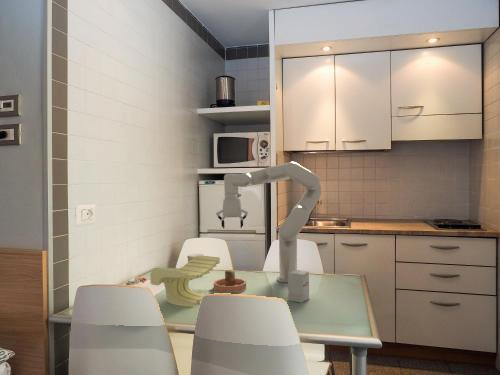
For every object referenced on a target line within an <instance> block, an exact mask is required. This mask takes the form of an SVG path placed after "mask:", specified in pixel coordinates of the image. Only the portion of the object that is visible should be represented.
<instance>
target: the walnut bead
mask: <svg viewBox="0 0 500 375" xmlns="http://www.w3.org/2000/svg"><path fill="white" fill-rule="evenodd" d="M235 278H236V271H235V270H232V269H228V270H224V279H225V286H235Z"/></svg>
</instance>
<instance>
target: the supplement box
mask: <svg viewBox="0 0 500 375" xmlns="http://www.w3.org/2000/svg"><path fill="white" fill-rule="evenodd" d="M287 286H288V288H287V289H288V292H287V293H288V301H290V302H298V303H304V302H305V301H307V300H308V299H309V300H310V272H309V270H308V271H307V270H299V269H297V270H294V271H292V272H290V273H288V284H287Z"/></svg>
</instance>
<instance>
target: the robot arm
mask: <svg viewBox="0 0 500 375" xmlns="http://www.w3.org/2000/svg"><path fill="white" fill-rule="evenodd" d="M290 179H291V180H292V181H293V182H295V183H297V184H298V185H300V186H301V187H304V188H305V189H304V192H303V195H302V196H301V198H300V199H299V201H298V202H297V203H296V204H295V206H294V207H293V208H292V209H291V211H290V213H289V214H288V216H286V218H285V220H284V221H283V222H281V224H280V225H279V227H278V231H277V232H278V242H279V243H278V250H279V252H278V257H279V259H278V260H279V261H278V263H279V264H278V265H279V266H278V267H279V275H278V276H277V277H276V280H277V281H278V282H280V283H285V284H286V283H288V273H290V272H292V271H294V270H298V239H297V238H298V235H299V234H300V232H301V231H302V229H303V228H304V227H305V225H306V224H307V222H308V221H309V218H310V214H311V213H312V211H313V210H314V208H315V206H316V205H317V204H318V201H319V200H320V198H321V195H322V186H321V182H320V178H319V176H318V175H317V174H315V173H314V172H312V171H310V170H309V169H307V168H305V167H304V166H302V165H300V164H299V163H297V162H295V161H290V162H285V163H282V164H278V165H272V166H268V167H265V168H262V169H260V170H256V171H251V172H244V173H243V172H242V173H226V174H224V176H223V181H224V182H223V184H224V199H223V201H222V209H221V210H218V212H216V213H215V215H216V216H217V218H218V219H219V220H220V222H221V228H222V229H225V219H226V218H239V219H240V228H241V229H242V228H243V227H244V220H245V219H246V218H247V216H248V214H249V211H246V210H244V209H242V203H241V199H240V197H242V194H241V193H239V187H240V188H248V187H251V186H256V185H260V184H271V183H275V182H279V181H280V182H281V181H286V180H290ZM220 214H222V216H221V215H220ZM242 214H244V215H243V216H242Z"/></svg>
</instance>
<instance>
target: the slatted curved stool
mask: <svg viewBox="0 0 500 375" xmlns="http://www.w3.org/2000/svg"><path fill="white" fill-rule="evenodd" d="M220 261H221V259H220V257H219V256H210V255H209V256H208V255H203V256H201V255H197V256H195V257H193V258H192V259H191V260H190V261H188V260H187V263H184V265H183V266H182V267H180V268H178V269H167V268H159V267H153V268H152V269H151V271H150V275H149V276H150V277H149V278H150V285H152V286H159V285H162V284H163V285H164V288H165V289H164V290H165V295H166V299H167V300H166V301H167V302H168V303H169V304H171V305H178V306H182V307H187V308H194V307H196V306H198V305H201V304H200V301H201V298H202V297H203V296H204V295H205V294H201V293H198V292H195V291H193V290H191V289H190V287H189V282H190V281H191V280H195V279H198V278H201V277H200V276H202V277H203V276H206V275H208V274H210V271H213V270H214V268H215V267H217V265H218V264H219V265H220ZM197 277H198V278H197Z"/></svg>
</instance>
